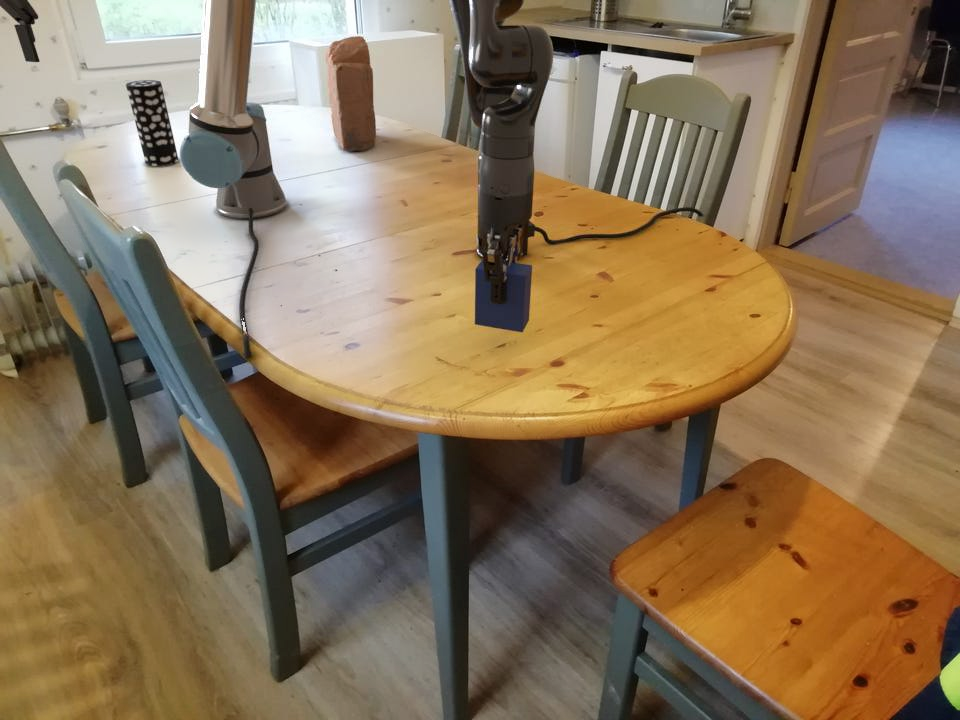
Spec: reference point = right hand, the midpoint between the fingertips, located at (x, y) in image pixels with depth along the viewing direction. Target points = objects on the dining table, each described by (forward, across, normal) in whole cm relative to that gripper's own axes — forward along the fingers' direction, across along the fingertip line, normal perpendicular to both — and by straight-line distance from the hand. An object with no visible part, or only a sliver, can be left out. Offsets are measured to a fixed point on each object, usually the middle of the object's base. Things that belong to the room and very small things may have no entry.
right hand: (502, 295), depth 104 cm
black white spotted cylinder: (-2, -60, -114) cm, 129 cm away
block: (+5, 0, 0) cm, 5 cm away
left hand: (-23, -14, -103) cm, 107 cm away
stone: (+8, -96, -74) cm, 122 cm away
